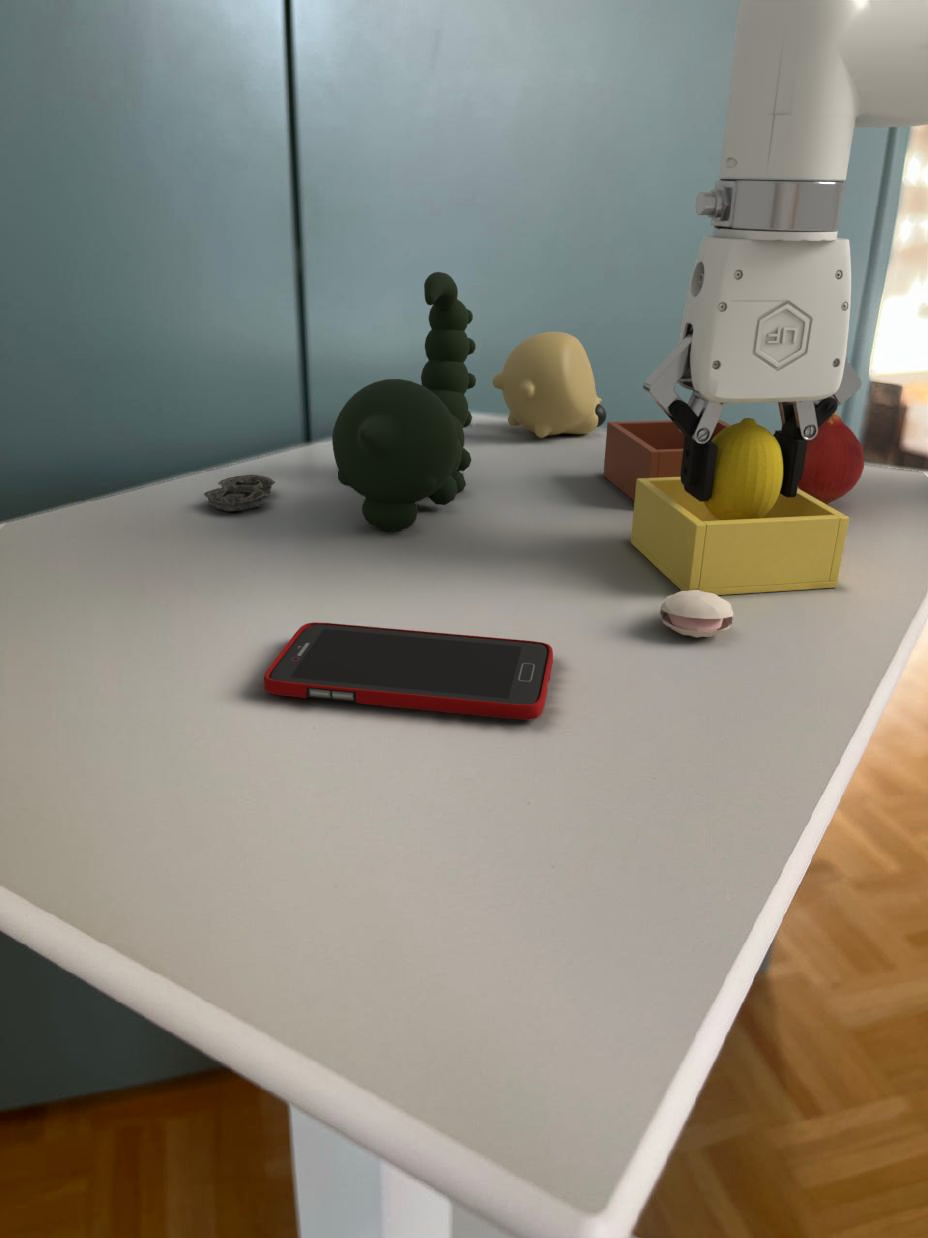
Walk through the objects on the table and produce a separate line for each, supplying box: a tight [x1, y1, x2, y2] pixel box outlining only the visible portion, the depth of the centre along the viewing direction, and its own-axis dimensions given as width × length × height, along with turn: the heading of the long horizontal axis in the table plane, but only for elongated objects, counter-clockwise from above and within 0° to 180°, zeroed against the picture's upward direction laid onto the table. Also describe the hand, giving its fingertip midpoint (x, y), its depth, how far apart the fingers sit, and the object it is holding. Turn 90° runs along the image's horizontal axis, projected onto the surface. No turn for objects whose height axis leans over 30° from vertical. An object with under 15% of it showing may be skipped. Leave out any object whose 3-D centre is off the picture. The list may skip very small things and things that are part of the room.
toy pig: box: [492, 331, 607, 439], centre depth 105 cm, size 10×12×11 cm
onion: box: [798, 412, 865, 505], centre depth 83 cm, size 6×6×8 cm
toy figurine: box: [331, 271, 477, 532], centre depth 79 cm, size 9×19×25 cm
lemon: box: [703, 417, 783, 520], centre depth 69 cm, size 6×6×8 cm
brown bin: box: [603, 418, 731, 502], centre depth 87 cm, size 11×11×5 cm
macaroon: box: [659, 590, 734, 639], centre depth 61 cm, size 4×5×2 cm
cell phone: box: [263, 621, 554, 721], centre depth 54 cm, size 8×15×1 cm, turn 81°
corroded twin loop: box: [204, 474, 276, 512], centre depth 83 cm, size 5×8×1 cm, turn 175°
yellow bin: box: [630, 477, 850, 596], centre depth 71 cm, size 11×11×5 cm
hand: (739, 491), depth 69 cm, fingers closed on lemon, 5 cm apart
